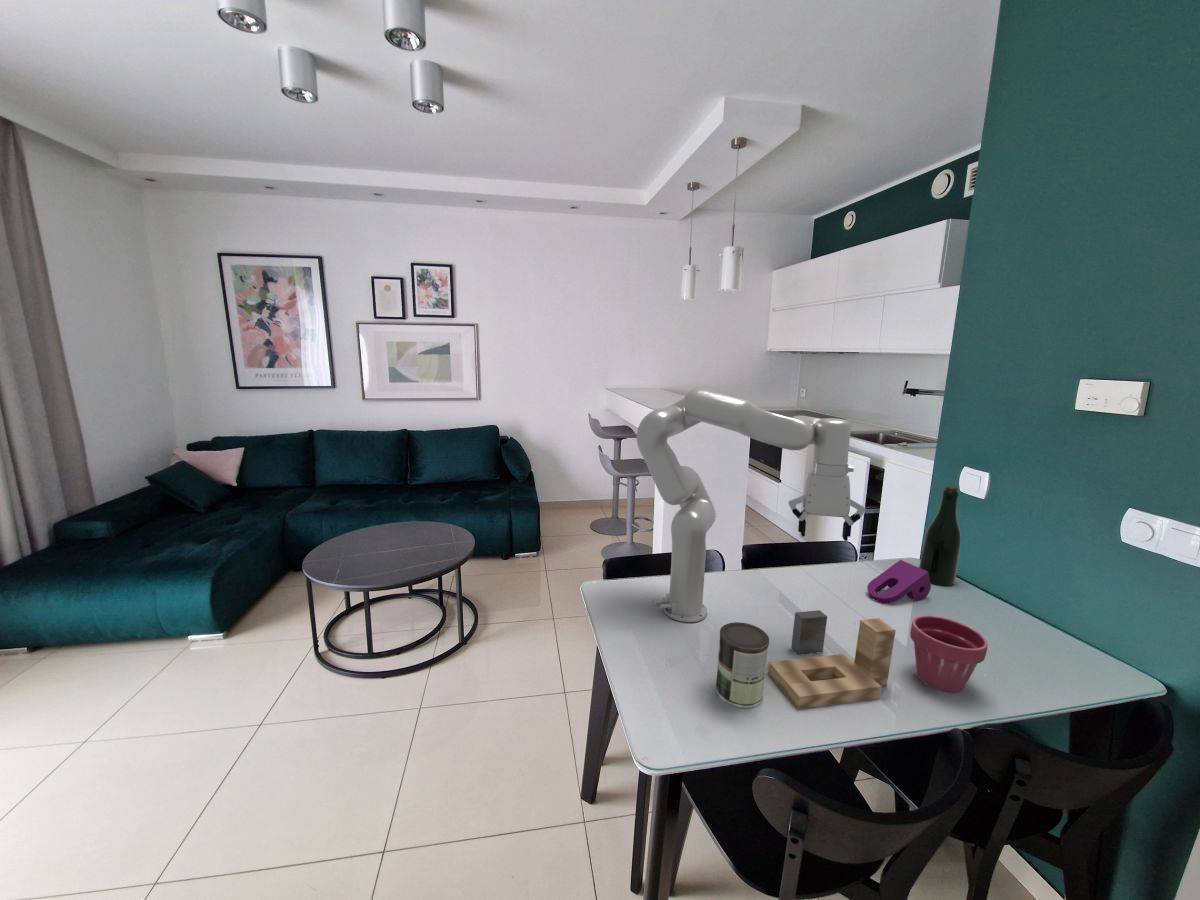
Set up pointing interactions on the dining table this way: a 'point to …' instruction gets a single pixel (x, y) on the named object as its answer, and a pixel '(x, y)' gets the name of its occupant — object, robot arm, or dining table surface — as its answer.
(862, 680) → the wooden slotted base
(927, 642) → the plant pot
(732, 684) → the coffee can
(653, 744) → the dining table surface
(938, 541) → the beer bottle
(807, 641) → the tall grey upright slab
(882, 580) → the mounting bracket
